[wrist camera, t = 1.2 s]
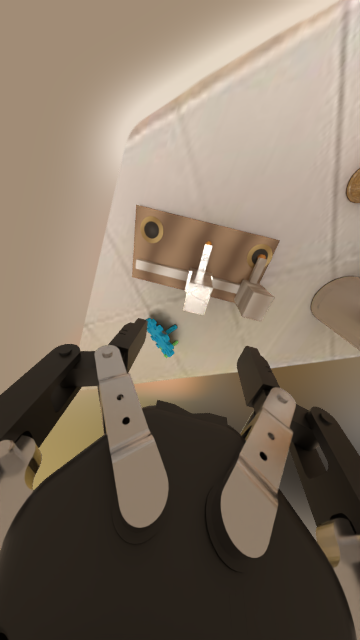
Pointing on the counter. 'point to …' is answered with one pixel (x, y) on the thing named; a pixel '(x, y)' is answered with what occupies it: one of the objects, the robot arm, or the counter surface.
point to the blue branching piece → (161, 337)
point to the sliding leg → (199, 285)
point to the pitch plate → (186, 251)
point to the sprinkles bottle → (354, 188)
